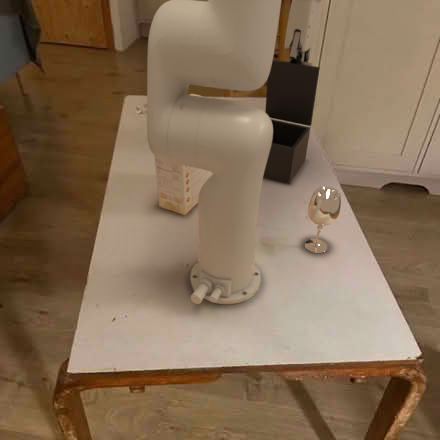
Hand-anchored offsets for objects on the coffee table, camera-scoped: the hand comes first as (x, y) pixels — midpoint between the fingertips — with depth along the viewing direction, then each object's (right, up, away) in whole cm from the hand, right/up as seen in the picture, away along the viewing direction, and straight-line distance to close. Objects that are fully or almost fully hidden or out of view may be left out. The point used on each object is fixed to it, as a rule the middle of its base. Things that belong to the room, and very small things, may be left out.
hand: (296, 80), depth 104 cm
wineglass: (+1, -41, -16) cm, 44 cm away
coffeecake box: (-25, -28, -4) cm, 38 cm away
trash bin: (-4, -19, +6) cm, 20 cm away
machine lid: (-2, -4, -2) cm, 5 cm away
